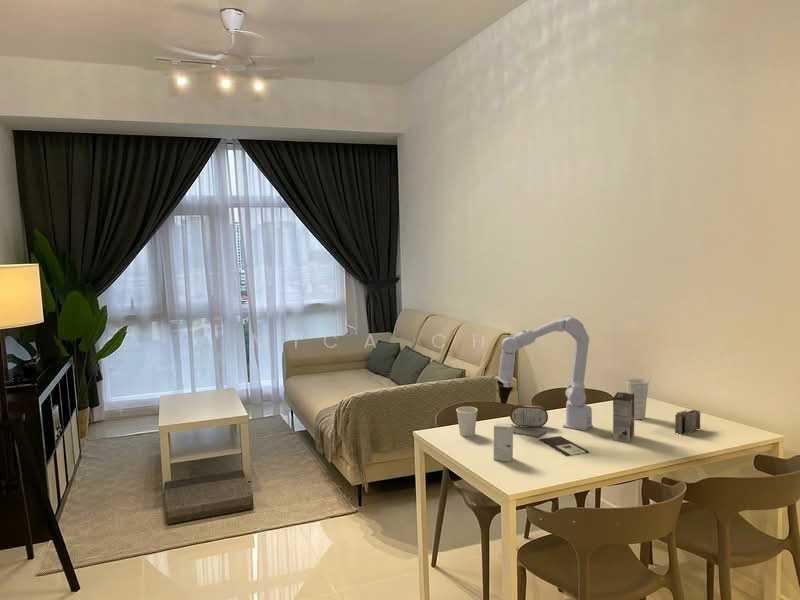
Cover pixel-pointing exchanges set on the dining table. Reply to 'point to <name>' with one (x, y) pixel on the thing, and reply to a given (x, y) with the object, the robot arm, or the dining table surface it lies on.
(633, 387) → the cup
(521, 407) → the tin
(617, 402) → the coffee box
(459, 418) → the dixie cup
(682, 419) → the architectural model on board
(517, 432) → the mat
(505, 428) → the skincare box
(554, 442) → the chocolate bar
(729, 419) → the dining table surface
